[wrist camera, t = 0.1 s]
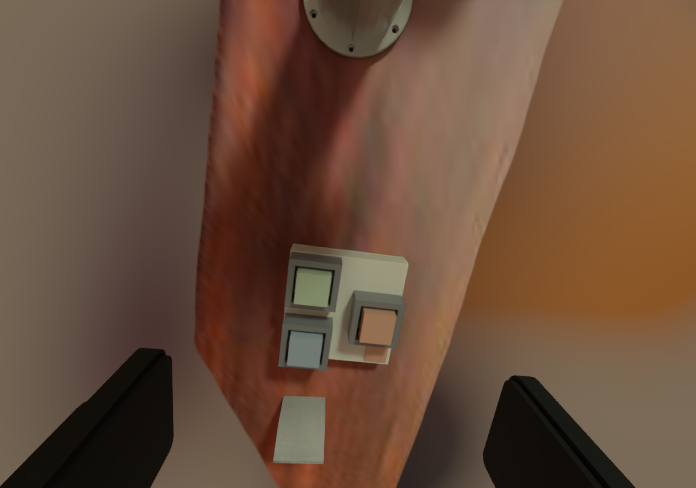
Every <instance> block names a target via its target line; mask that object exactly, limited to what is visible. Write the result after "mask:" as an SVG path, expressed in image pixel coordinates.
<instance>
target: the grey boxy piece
mask: <svg viewBox="0 0 696 488" xmlns="http://www.w3.org/2000/svg"><path fill="white" fill-rule="evenodd" d="M324 434H325V397H301V396H284V397H283V402H282V408H281V413H280V418H279V424H278V430H277V437H276V445H275V451H274V458H273V463H310V464H323V460H324Z"/></svg>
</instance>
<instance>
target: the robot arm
mask: <svg viewBox="0 0 696 488" xmlns="http://www.w3.org/2000/svg"><path fill="white" fill-rule="evenodd" d="M303 1H304V7H305V12H306V16H307V18H308V21H309V23H310V26H311V28H312V29H313V31H314V33H315V34H316V36H317V37H318V38H319V39H320V40H321V42H322V43H323V44H324V45H325V46H327V47H328V48H329V49H331V50H332V51H333V52H336V53H338V54H340V55H342V56H346V57H350V58H366V57H371V56H374V55H376V54H379V53H381V52H383V51H384V50H385V49H387V48H388V47H390V46H391V45H392V44H393V43H394V42H395V41H396V40H397V38H398V37H399V35H400V34H401V33H402V31H403V29H404V27H405V26H406V24H407V22H408V19H409V16H410V13H411V10H412V4H413V0H303ZM314 14H315V15H316V18H312V15H314ZM392 30H395V31H396V33H393V32H392ZM350 48H352V49H353V52H350V51H349V49H350ZM172 391H173V389H172V358H171V356H166V353H165V351H164V350H163V349H150V348H139V349H138V350H136V351H135V352H134V353H133V355H131V356H130V358H129V359H128V360H127V361H126V362H125V363H124V364H123V365H122V366H121V367H120V368H119V369H118V370H117V371H116V372H115V373H114V374H113V375H112V376H111V377H110V378H109V379H108V380H107V381H106V382H105V383H104V384H103V386H102V387H100V389H99V390H98V391H97V392H96V393H95V394H94V395H93V396H92V397H91V398H90V399H89V400H88V401H86V402H84V403H83V404H81V405H80V406H79V407H78V408H77V409H76V410H75V411H74V412H73V413H72V414H71V415H70V416H69V417H68V418H67V419H66V420H65V421H64V422H63V423H62V424H61V425H60V426H59V427H58V428H57V429H56V430H55V431H54V432H53V433H52V434H51V435H50V436H49V437H48V438H47V439H46V440H45V441H44V442H43V443H42V444H41V445H40V446H39V447H38V448H37V449H36V450H35V451H34V452H33V454H31V455H30V457H29V458H28V459H27V460H26V461H25V462H24V463H23V464H22V465H21V466H20V467H19V468H18V469H17V470H16V471H15V472H14V473H13V474H12V475H11V476H10V477H9V478H8V479H7V480H6V481H5V482H4V483H3V484H2V485H1V486H0V488H150V487H151V485H152V483H153V482H154V480H155V478H156V476H157V474H158V472H159V470H160V468H161V466H162V465H163V463H164V461H165V459H166V457H167V455H168V453H169V451H170V449H171V446H172V443H173V436H174V433H173V392H172ZM483 461H484V464H485V467H486V469H487V471H488V473H489V476H490V478H491V480H492V482H493V483H494V485H495V488H635V487H634V486H633V484H632V483H631V482H630V481H629V480H628V479H627V478H626V477H625V476H624V474H623V473H622V472H621V471H620V470H619V469H618V468H617V467H616V466H615V465H614V463H613V462H612V461H611V460H610V459H609V458H608V457H607V456H606V455H605V454H604V453H603V451H602V450H601V449H600V448H599V447H598V446H597V445H596V444H595V443H594V442H593V440H592V439H591V438H590V437H589V436H588V435H587V434H586V433H585V432H584V431H583V430H582V428H581V427H580V426H579V425H578V424H577V423H576V422H575V421H574V420H573V418H572V417H571V416H570V415H569V414H568V413H567V412H566V411H565V410H564V409H563V407H562V406H561V405H560V404H559V403H558V402H557V401H556V400H555V399H554V398H553V396H552V395H551V394H550V393H549V392H548V391H547V390H546V389H545V388H544V387H543V386H542V384H541V383H540V382H539V381H538V380H537V379H536V378H534V377H529V376H515V375H514V376H511V377H510V378H509V380H507V381H506V382H505V383H504V385H503V389H502V392H501V395H500V399H499V401H498V405H497V408H496V411H495V415H494V418H493V422H492V425H491V428H490V431H489V435H488V438H487V442H486V445H485V448H484V452H483Z"/></svg>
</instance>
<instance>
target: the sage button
mask: <svg viewBox="0 0 696 488" xmlns="http://www.w3.org/2000/svg"><path fill="white" fill-rule="evenodd" d="M331 278H332V270H329V269H321V268H312V267H303V266H299V267H298V271H297V278H296V287H295V296H294V304H300V305H309V306H319V307H327V306H328V299H329V292H330V285H331Z"/></svg>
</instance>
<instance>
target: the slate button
mask: <svg viewBox="0 0 696 488" xmlns="http://www.w3.org/2000/svg"><path fill="white" fill-rule="evenodd" d="M322 341H323V333H317V332H307V331H297V330H291V335H290V342H289V351H288V360H287V366H297V367H308V368H319V362H320V355H321V348H322Z"/></svg>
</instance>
